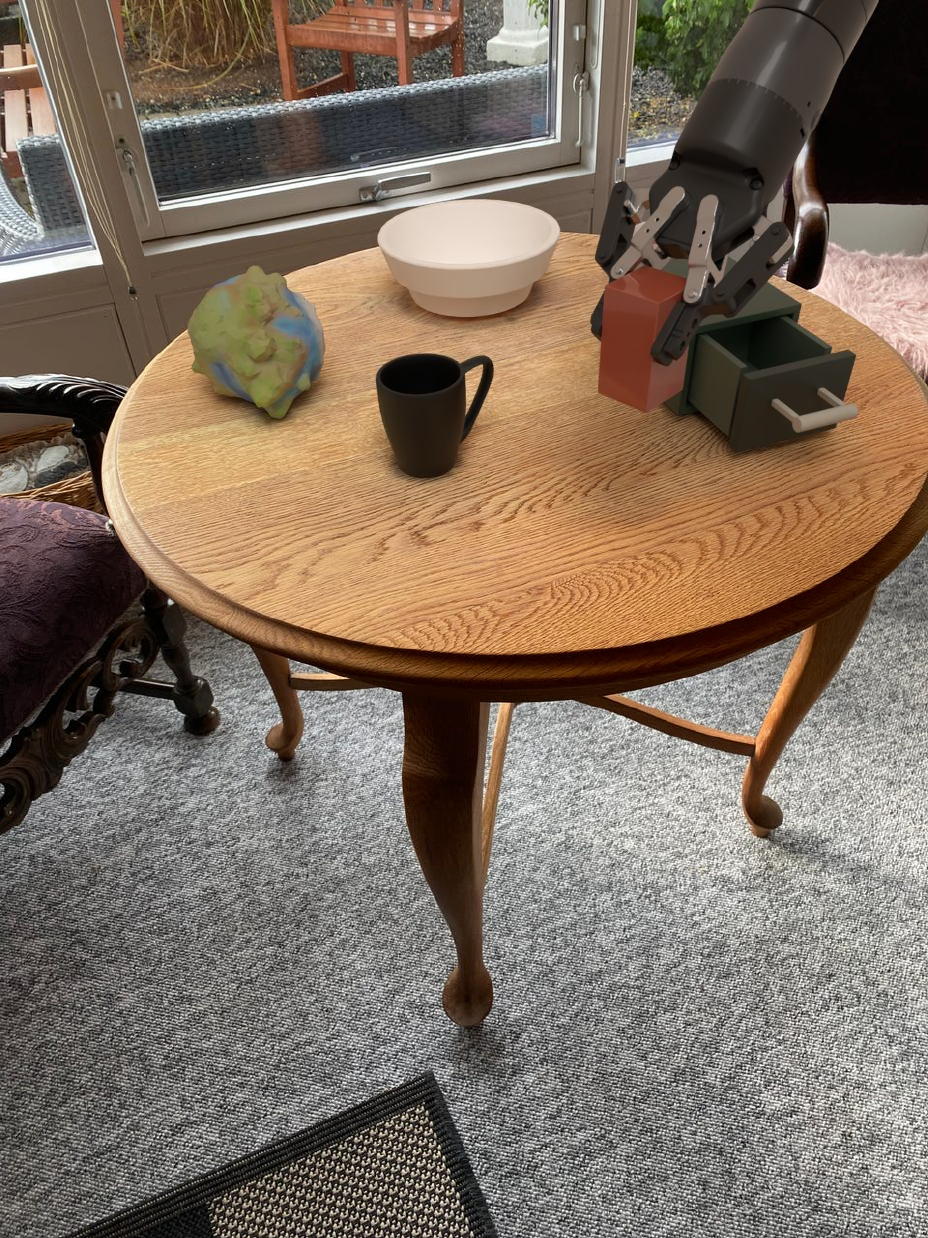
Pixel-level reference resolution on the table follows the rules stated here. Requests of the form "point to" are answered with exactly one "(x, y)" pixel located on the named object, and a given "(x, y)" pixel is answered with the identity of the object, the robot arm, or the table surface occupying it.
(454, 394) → the mug
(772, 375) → the drawer
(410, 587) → the table surface
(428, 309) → the bowl
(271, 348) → the decorative rock
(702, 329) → the cabinet
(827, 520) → the table surface
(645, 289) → the block
